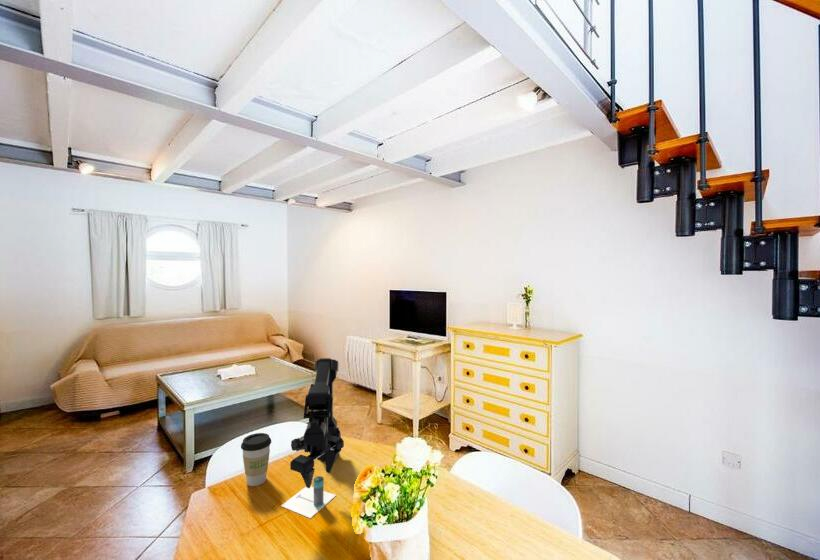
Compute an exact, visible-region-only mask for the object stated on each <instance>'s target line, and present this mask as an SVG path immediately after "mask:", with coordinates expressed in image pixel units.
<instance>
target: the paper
mask: <svg viewBox="0 0 820 560" xmlns="http://www.w3.org/2000/svg"><path fill="white" fill-rule="evenodd" d="M323 495H324V504H323V505H322V506H321V507H315V506H314V486H312V485H311V486H310V488H307V487H306V486H305V487H303V488H302V489H300V491H298V492H297V493H296V494H295V495H293V496H292V497H290V498H289V499H288V500H287V501H285V502H283V504H281V505H280V506H281V508H284V509H286V510H289V511H291V512H294V513H295V514H298V515H301V516H303V517H306V518H308V519H312V518H313V517H314V516H316V514H317V513H319V512H320V511H321V510H322V509H323V508H325V506H326V505H327V504H329V503H330V502H331V501H332V500H333V499H334V498H335V497H337V495H336V494H334V493H331V492H329V491H328V492H327V490H326V491H325V490H323Z"/></svg>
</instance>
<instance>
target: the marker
mask: <svg viewBox="0 0 820 560" xmlns="http://www.w3.org/2000/svg"><path fill="white" fill-rule="evenodd" d="M324 481H325V479H324V477H323V476H320V475H319V476H315V477H313V479H312V483H313V487H314V506H315V507H321V506H322V505H323V504H324V495H323V491H324V483H325V482H324Z"/></svg>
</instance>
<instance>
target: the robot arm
mask: <svg viewBox="0 0 820 560" xmlns="http://www.w3.org/2000/svg"><path fill="white" fill-rule="evenodd" d="M339 365H340V364H339V361H338V360H336V359H332V358H330V357H325V358H318V359H317V360H315V361H314V373H316V375H315V380H314V383H313V385H312V386H310V387H309V389H308V392H307V394H305V401H304V411H303V419H308V423H307V425H306V428H305V430H304V431H305V432H304V434H303V436H301V437H297V438H294V439H292V440H291V443H290V447H291V450H292V451H294V452H299V451H304V453H309V455H304V454H299V455H298V456H296V457H294V458H293V459H292V460H291V461H290V464H289V465H290V471H293V472H296V473H300V475H301V477H302V479H303V482H304V484H305V487H307V488H310V486H312V483H313V480H314V474H315V470H316V469H315V468H314V467H315V461H316V460H317V459H318V460H321V461H324V462H325V471H326V473H327V474H329V473H331V471H332V468H333V466H334V464H335V462H336V460H337V458H338V457H339V456H340V452H341V451H342V449H343V448H344V447H345V446H344V443H345V440H343V438H342V436H341V430H340V427H338V421H337V420H336V418H335V417H334V382H335V380H336V378H337V374H338V372H339Z"/></svg>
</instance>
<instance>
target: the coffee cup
mask: <svg viewBox="0 0 820 560" xmlns="http://www.w3.org/2000/svg"><path fill="white" fill-rule="evenodd" d="M271 444H272V439H271V437H270V435H269V433H266V432H265V433H264V432H257V433H252V434H250V435H247V436H246V437H244V438H243V440H242V442H241V444H240V449H241V450H242V461H243V468H244V472H245V479H246V484H247V486H249V487H256V486H260V485H262V484H264V483H265V482H266V481H267V474H268V469H269V468H268V467H269V459H270V452H271V451H270V447H271Z"/></svg>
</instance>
